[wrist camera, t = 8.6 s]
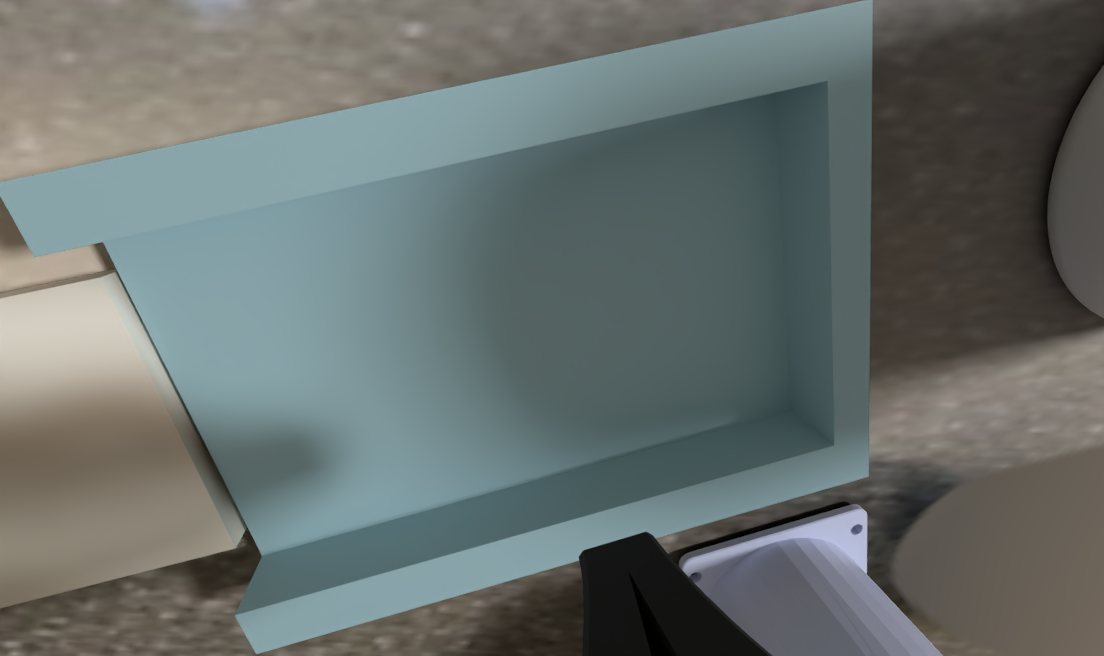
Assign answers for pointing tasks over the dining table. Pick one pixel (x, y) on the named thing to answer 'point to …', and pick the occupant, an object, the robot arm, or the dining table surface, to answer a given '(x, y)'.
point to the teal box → (508, 310)
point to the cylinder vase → (1081, 201)
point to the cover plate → (96, 446)
